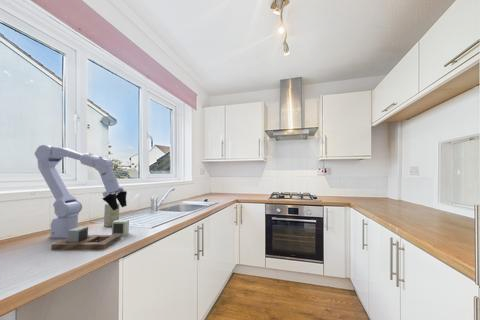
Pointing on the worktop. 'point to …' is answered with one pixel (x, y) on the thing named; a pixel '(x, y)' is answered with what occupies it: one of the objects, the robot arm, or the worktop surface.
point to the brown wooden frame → (88, 243)
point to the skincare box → (110, 215)
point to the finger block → (120, 227)
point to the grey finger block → (77, 234)
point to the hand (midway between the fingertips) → (120, 208)
